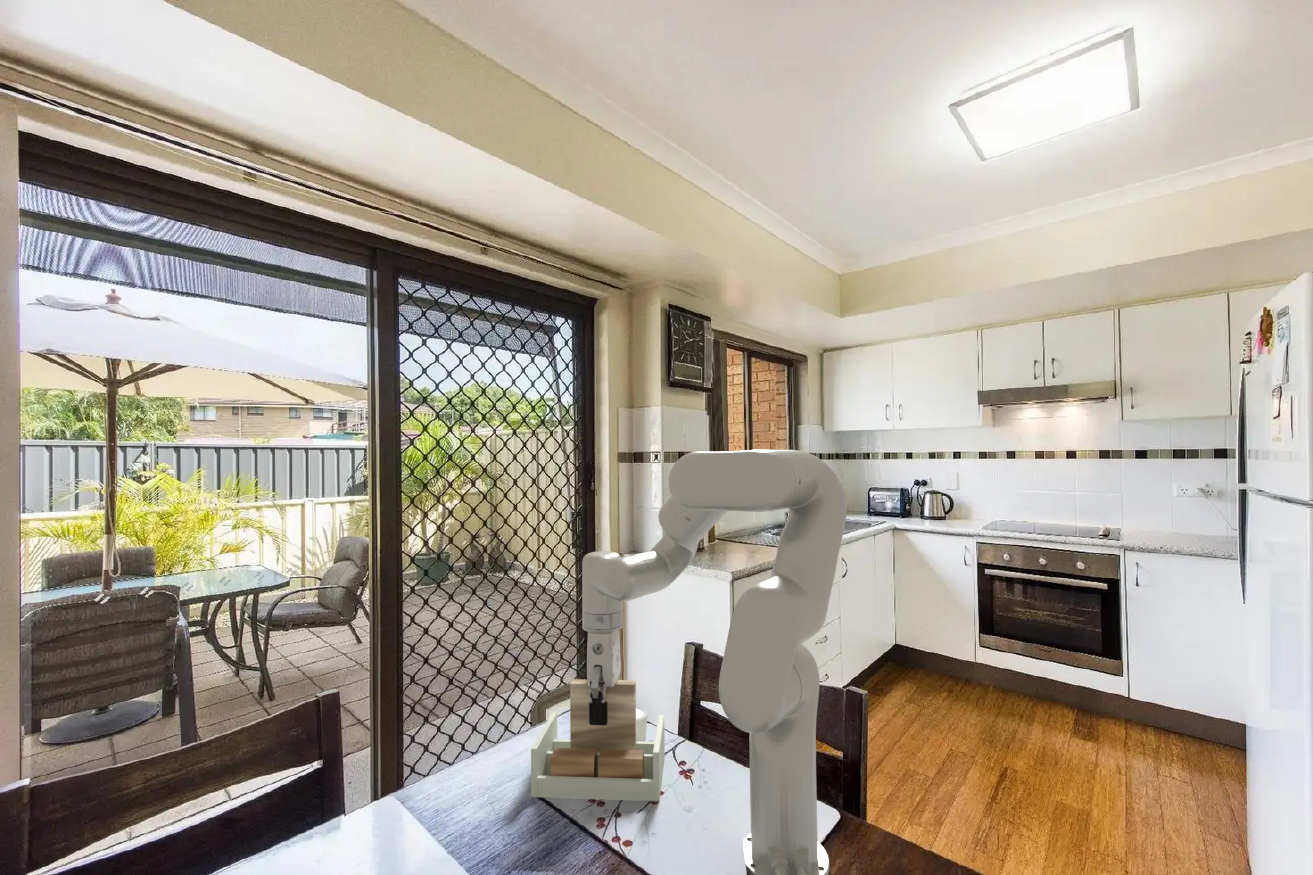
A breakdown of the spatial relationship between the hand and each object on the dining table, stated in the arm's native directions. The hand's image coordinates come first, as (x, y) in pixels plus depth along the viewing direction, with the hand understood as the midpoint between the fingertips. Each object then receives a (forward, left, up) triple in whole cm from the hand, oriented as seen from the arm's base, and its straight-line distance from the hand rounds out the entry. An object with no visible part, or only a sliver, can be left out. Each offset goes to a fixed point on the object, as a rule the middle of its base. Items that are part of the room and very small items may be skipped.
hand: (603, 712), depth 105 cm
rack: (-2, 0, -12) cm, 12 cm away
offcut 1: (-6, +4, -10) cm, 13 cm away
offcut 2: (-6, -4, -10) cm, 13 cm away
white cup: (+11, -4, -12) cm, 17 cm away
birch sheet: (0, 0, -10) cm, 10 cm away
